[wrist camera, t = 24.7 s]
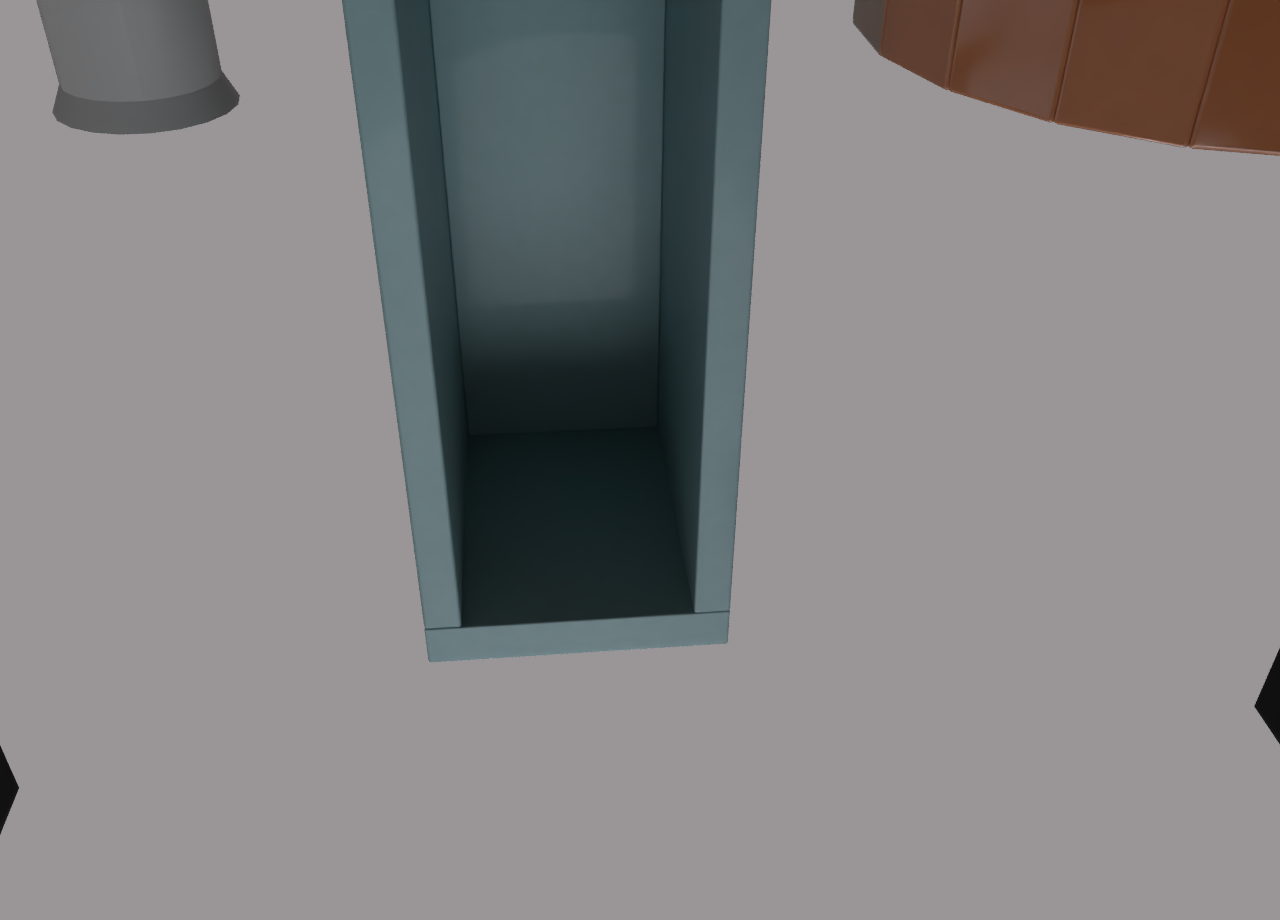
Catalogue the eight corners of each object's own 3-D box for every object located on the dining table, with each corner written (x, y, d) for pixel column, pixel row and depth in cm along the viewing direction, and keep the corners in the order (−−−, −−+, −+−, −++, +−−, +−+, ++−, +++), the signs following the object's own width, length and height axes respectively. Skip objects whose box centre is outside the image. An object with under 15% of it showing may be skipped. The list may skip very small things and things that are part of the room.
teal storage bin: (804, -481, 23) (727, 644, 41) (714, -459, 33) (683, 442, 51) (277, -488, 23) (428, 663, 40) (343, -464, 32) (442, 454, 50)
